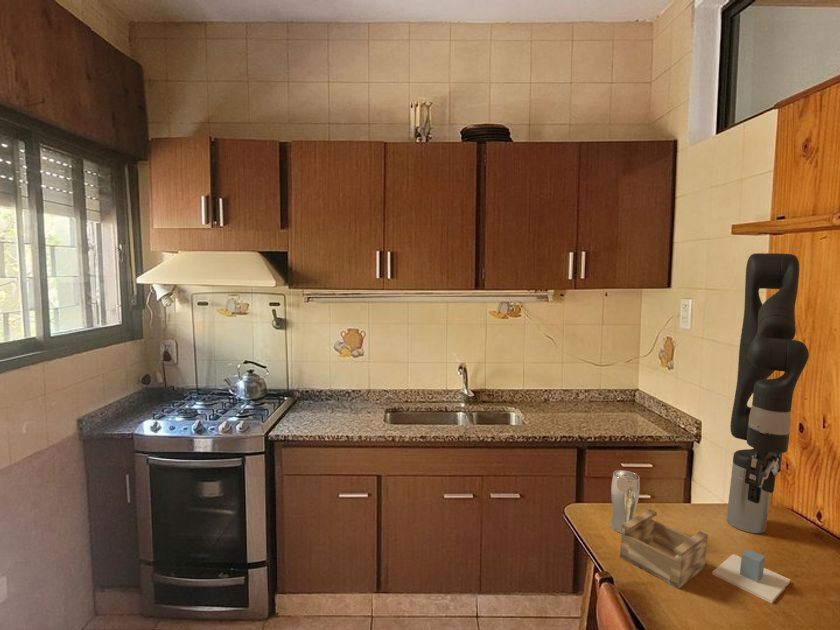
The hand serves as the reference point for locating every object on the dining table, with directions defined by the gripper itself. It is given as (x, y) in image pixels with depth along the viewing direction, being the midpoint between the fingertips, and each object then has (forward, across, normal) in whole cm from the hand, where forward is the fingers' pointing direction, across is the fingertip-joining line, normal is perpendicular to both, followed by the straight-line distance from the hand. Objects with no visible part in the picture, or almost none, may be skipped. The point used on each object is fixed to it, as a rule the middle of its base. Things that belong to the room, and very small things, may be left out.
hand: (760, 496), depth 110 cm
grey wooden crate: (+20, +12, -15) cm, 27 cm away
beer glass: (+20, +5, -29) cm, 36 cm away
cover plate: (+20, 0, 0) cm, 20 cm away
